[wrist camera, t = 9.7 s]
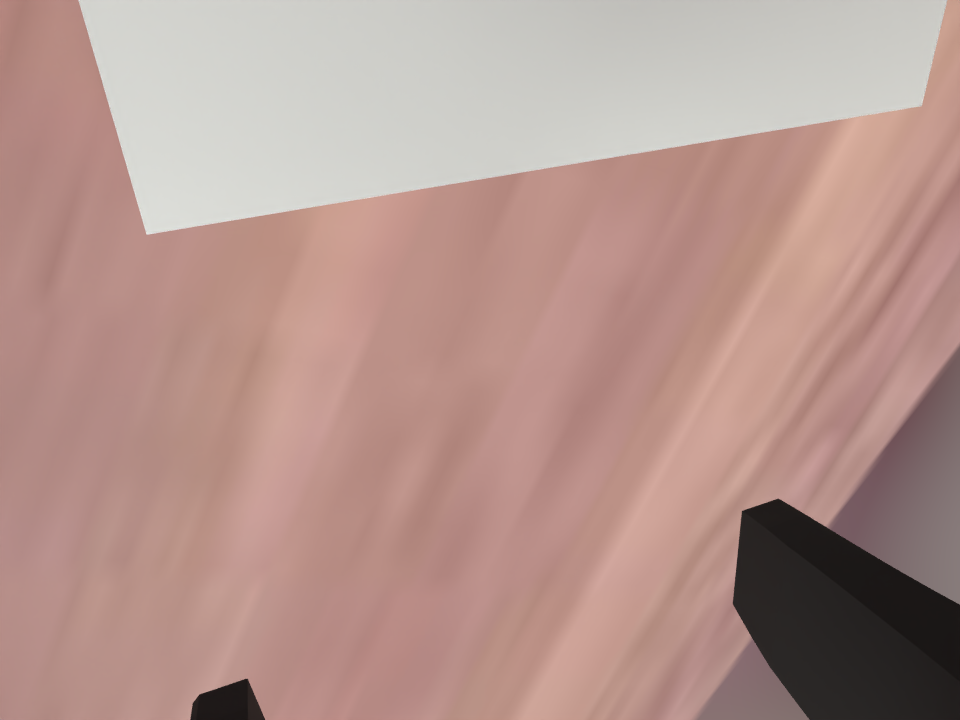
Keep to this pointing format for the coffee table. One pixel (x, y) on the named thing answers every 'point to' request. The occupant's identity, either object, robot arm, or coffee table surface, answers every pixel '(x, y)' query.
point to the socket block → (469, 88)
